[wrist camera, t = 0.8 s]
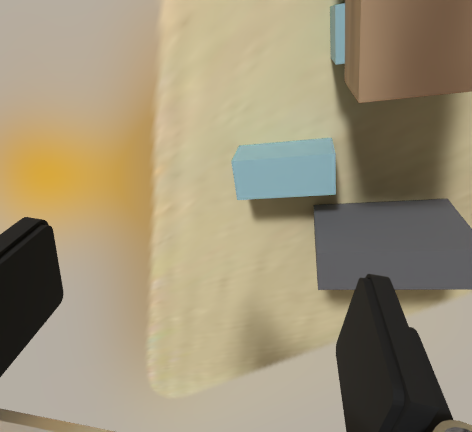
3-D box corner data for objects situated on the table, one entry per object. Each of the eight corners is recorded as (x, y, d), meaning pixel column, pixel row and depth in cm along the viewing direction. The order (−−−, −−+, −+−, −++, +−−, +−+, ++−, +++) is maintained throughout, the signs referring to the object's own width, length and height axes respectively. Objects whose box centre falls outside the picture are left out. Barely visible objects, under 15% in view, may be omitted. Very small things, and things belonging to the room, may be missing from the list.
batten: (331, 137, 27) (335, 153, 24) (332, 174, 28) (335, 194, 25) (239, 144, 28) (231, 161, 25) (244, 180, 30) (237, 199, 26)
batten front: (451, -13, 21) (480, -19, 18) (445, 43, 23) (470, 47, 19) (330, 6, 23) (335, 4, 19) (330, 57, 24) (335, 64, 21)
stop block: (447, 198, 27) (488, 249, 21) (442, 232, 29) (479, 289, 23) (313, 205, 29) (316, 253, 23) (314, 236, 31) (318, 289, 25)
